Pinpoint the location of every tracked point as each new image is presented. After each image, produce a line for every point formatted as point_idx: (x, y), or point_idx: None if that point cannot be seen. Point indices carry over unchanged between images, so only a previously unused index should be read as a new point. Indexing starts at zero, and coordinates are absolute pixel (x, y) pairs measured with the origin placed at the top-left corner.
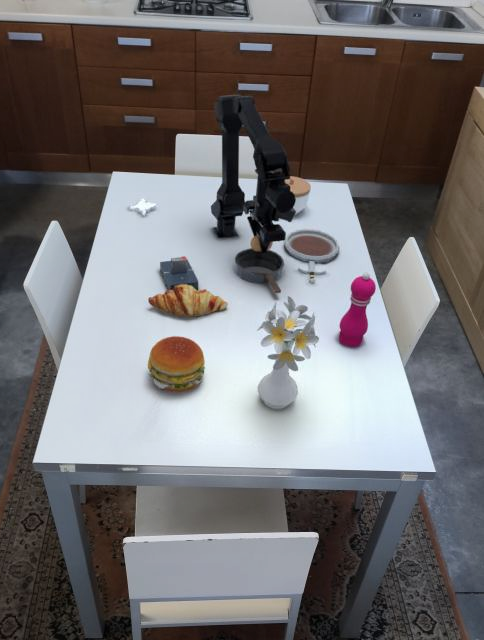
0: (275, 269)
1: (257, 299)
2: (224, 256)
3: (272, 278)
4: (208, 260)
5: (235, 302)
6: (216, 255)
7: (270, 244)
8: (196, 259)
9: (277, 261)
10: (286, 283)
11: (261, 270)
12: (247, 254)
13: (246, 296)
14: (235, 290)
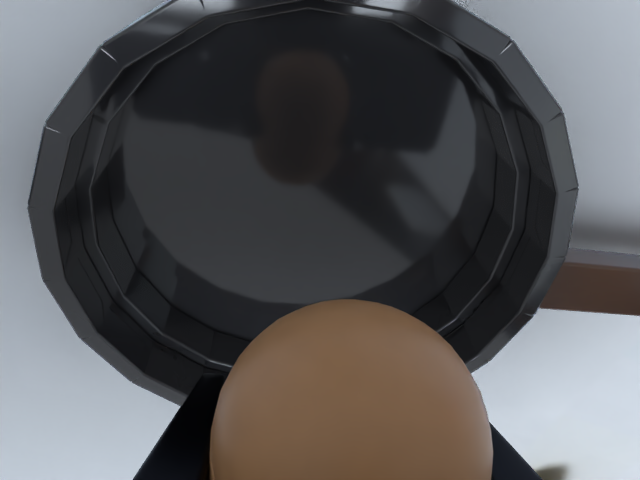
0: (361, 57)
1: (594, 334)
2: (26, 342)
3: (627, 279)
4: (75, 427)
5: (535, 425)
6: (9, 378)
7: (488, 424)
8: (57, 468)
9: (303, 8)
10: (593, 54)
11: (324, 194)
12: (89, 258)
13: (528, 371)
14: None
